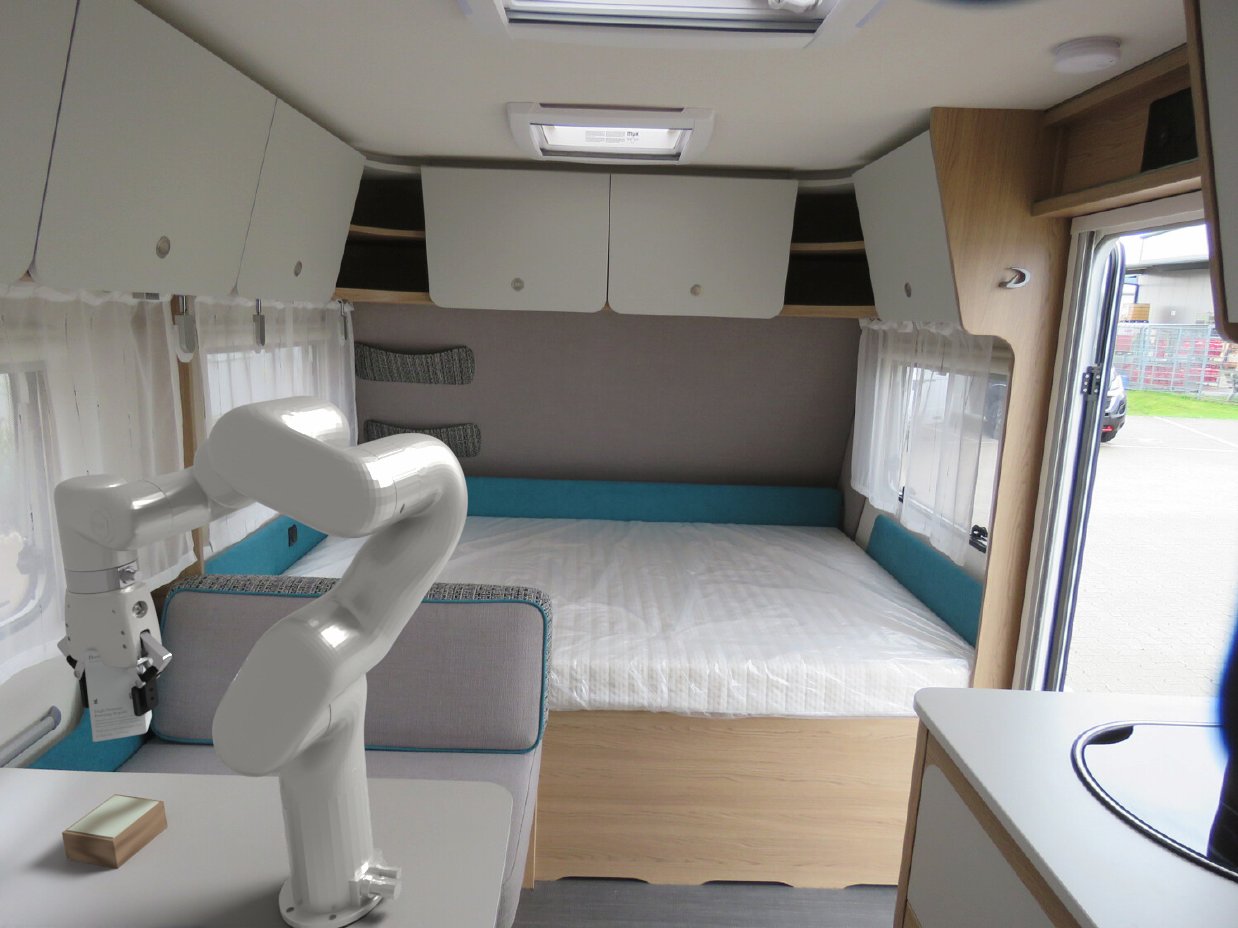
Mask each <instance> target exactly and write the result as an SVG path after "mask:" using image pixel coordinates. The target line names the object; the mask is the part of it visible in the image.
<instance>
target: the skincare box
mask: <svg viewBox="0 0 1238 928" xmlns="http://www.w3.org/2000/svg"><path fill="white" fill-rule="evenodd" d="M83 656H84V665H85V675H86V684H87V692H88V701H89V708H88V709H89V715H90V716H89V717H90V719H89V720H90V726H91V735H92V743H95V742H102V741H109V740H114V739H121V738H127V737H133V736H139V735H144V734H146V733H147V732H148V730H149V727H150V725H151V720H152V717H153V713H152V710H150V711H148V712H147V713H145V714H144V715H142V716H140V717H139V716H135V714H134V708H133V700H132V693H131V688H132V687H134V686H135V684H134V682H133V680H132V679H131V677H130V675H129V674H128V672H127V670H126V668H121V667H113V666H107V665H104V664H103V662H102V660H101V658H100V656H99V653H98V652H97V651H93V650H87V649H86V650H85V652H84V654H83ZM141 658H142V653H141V650H140V655H139V656H138V657H137V660H139V659H141ZM137 667H138V668H139V670H140V672H141V674H143V673H144V672H145V671H146V669H145V668H144V666H143V664H140V665H138V666H137Z"/></svg>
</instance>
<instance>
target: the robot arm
mask: <svg viewBox="0 0 1238 928" xmlns="http://www.w3.org/2000/svg"><path fill="white" fill-rule="evenodd" d="M350 441H351V429H350V424H349V422H348V419H347V417H346V416H345V414H344V413H343V411H342V409H340V408H338V407H337V405H335V404H334V403H332V402H331V401H328V400H327V399H324V398H322V397H319V396H312V395H297V396H296V395H295V396H289V397H288V396H287V397H283V398H275V399H271V400H265V401H257V402H252V403H248V404H242V405H239V406H237V407H234V408H231V409H230V410H229V411H227V412H225V413H224V414H223V415H222V416H221V417H220V418H218V420H217V421H216V422H215V424H214V425H213V426H212V428H211V430H210V433H209V435H208V438H207V439H205V440H203V441H202V442H201V443H200V445H198V447H197V449H196V451H195V453H194V455H193V456H194V457H193V465H191V466H188V467H186V468H183V469H181V470H178V471H173V472H167V473H165V474H160V475H157V476H153V477H148V478H145V479H141V480H137V481H132V482H128V481H127V480H126V479H125V478H123V477H122V476H119V475H115V474H103V473H102V474H89V475H88V474H87V475H80V476H75V477H71V478H68V479H65V480H63V481H61V482H59V483H58V484H57V485H56V487H55V488H54V490H53V502H54V509H55V515H56V521H57V522H56V523H57V529H58V536H59V543H60V549H61V555H62V563H63V564H62V565H63V570H64V577H65V578H64V579H65V584H66V588H65V595H64V626H65V628H64V629H65V636H63V638H62V639H61V640H59V642H57V644H56V645H57V648H58V650H59V651H60V652H61V653H62V655H63V656H64V657H65V658H66V659H65V660H66V662H67V664H68V665H70V667H71V669H73V676H74V678H76V679H78V682H79V684H78V685H79V690H80V697H81V702H82V703H81V704H82V708H84V709H89V701H88V692H87V684H86V675H85V665H84V656H83V654H84V652H85V650H86V649H87V650H93V651H97V652H98V653H99V656H100V658H101V660H102V662H103V664H104V665H107V666H113V667H121V668H126V670H127V672H128V674H129V675H130V677H131V679H132V680H133V682H134V684H135V686H134V687H132V688H131V693H132V700H133V708H134V714H135V716H139V717H140V716H142V715H144V714H145V713H147V712H148V711H150V710H151V711H152V710H154V709H155V708H156V707H158V705H159V704H160V701H159V693H158V684H157V683H158V682H157V679H158V678H159V677H160V676H161V674H162V673H163V672H164V671H165V670H166V667H167V665H168V664H169V663H170V662H171V660H172V658H173V656H172V653H171V652H170V651H168V650H167V648H165V646H163V643H162V635H161V630H160V624H159V619H158V616H157V615H158V614H157V612H156V611H157V610H156V607H155V603H154V600H153V597H152V594H151V592H150V589H149V587H148V585H147V583H146V582H143V581H142V579H143V577H144V573H143V571H142V570H141V569H140V562H139V556H138V555H139V554H138V549H141V548H143V547H146V546H147V547H148V546H149V545H152V544H155V543H158V542H161V541H163V540H165V539H168V538H172V537H174V536H177V535H181V534H183V533H186V532H190V531H193V530H196V529H198V528H201V527H205V526H207V525H209V524H211V523H213V522H215V521H217V520H220V519H222V518H224V517H226V516H229V515H232V514H233V513H236V512H238V511H240V510H242V509H245V508H248V507H250V506H252V504H255V503H258V504H260V505H262V506H264V507H267V508H269V509H271V510H273V511H275V512H277V513H280V514H282V515H284V516H285V517H288V518H291V519H292V520H295V521H296V522H298V523H301V524H302V525H305V526H307V527H309V528H310V529H313V530H315V531H318V532H320V533H323V534H325V535H328V536H332V537H334V538H335V537H336V538H341V539H360V538H364V537H368V536H369V537H368V538H367V539H365V542H364V543H362V545H361V546H360V548H359V549H358V550H357V552H356V554H355V555H354V557H353V559H352V560H351V562H350V564H349V566H348V567H347V568H346V570H345V572H344V573H343V574H342V576H341V577H340V579H339V580H338V581H337V582H336V584H335V585H334V586H333V587H331V589H329V590H328V591H327V592H326V593H323V594H322V595H321V596H319V597H317V598H316V599H314V600H312V601H310V602H309V603H308V604H305V605H304V606H302V607H300V608H299V609H295V611H293V612H291V613H289V614H288V615H286V616H284V617H283V618H281V619H280V620H278V621H276V622H275V623H274V624H273V625H272V626H271V627H270V628H268V630H266V631H265V632H264V633H263V634H262V635H261V636H260V638H259V639H258V640H257V641H256V642H255V644H254V645H253V647H252V649H250V652H249V653H248V655H247V656H246V659H245V660H244V662H243V663H242V665H241V666H240V668H239V670H238V672H237V673H236V675H235V676H234V678H233V679H232V681H231V683H230V684H229V686H228V688H227V690H226V691H225V693H224V694H223V696H222V698H221V699H220V702H219V703H218V705H217V708H216V710H215V713H214V717H213V720H212V726H211V727H212V728H211V735H212V742H213V748H214V750H215V752H216V755H217V757H218V759H219V760H220V762H221V763H222V764H223V766H225V768H227V769H228V770H230V771H231V772H233V773H235V774H237V775H239V776H243V777H248V778H261V777H267V776H271V775H273V774H275V773H278V783H279V784H278V785H279V794H280V803H281V809H282V810H281V812H282V818H283V826H284V827H283V828H284V835H285V844H286V851H287V859H288V860H287V861H288V868H289V870H288V871H289V877H288V878H287V879H286V880H285V882H284V883H283V885H282V887H281V889H280V892H279V894H278V895H279V896H278V907H279V912H280V913H279V914H280V915H281V917H282V919H283V921H284V922H285V923H286V924H287V925H289V926H291V927H292V928H342V927H345V926H347V925H349V924H351V923H353V922H355V921H358V920H359V919H360V918H362V917H364V916H365V915H367V914H369V912H370V911H372V910H373V909H374V908H375V907H376V906H377V904H378V903H380V902H381V900H382V899H383V898H385V899H389V900H390V899H391V900H397V899H399V897H400V895H401V892H402V888H403V886H402V885H403V883H402V881H401V880H399V879H400V878H401V877H402V874H403V873H402V872H403V868H402V867H401V866H395V865H388V862H387V861H386V860H385V858H384V857H383V851H382V848H380V847H374V840H373V830H372V820H371V819H372V817H371V807H370V799H369V787H368V779H367V777H368V776H367V763H366V762H367V761H366V751H365V717H366V710H367V709H366V707H367V696H368V682H367V673H368V672H369V671H370V670H371V669H373V668H374V667H375V666H376V665H378V664H379V663H380V662H381V661H382V660H383V659H385V657H386V656H387V654H388V652H389V651H390V650H391V649H392V647H393V645H394V643H395V642H396V640H397V638H398V637H399V636H400V634H401V632H402V631H403V630H404V628H405V626H406V625H407V624H408V622H409V621H410V619H411V618H412V616H413V615H414V613H415V612H416V611H417V609H418V607H420V605H421V603H422V601H423V599H424V598H425V596H426V595H427V594H428V591H429V590H430V589H431V587H432V586H433V584H434V583H435V581H437V578H438V577H439V576H440V574H441V573H442V571H443V569H444V568H445V567H446V565H447V564H448V562H449V560H450V559H451V557H452V555H453V553H454V551H455V549H456V548H457V546H458V543H459V541H460V539H461V536H462V533H463V531H464V529H465V524H466V521H467V514H468V508H469V507H468V504H469V501H468V499H469V498H468V487H467V482H466V478H465V474H464V471H463V468H462V466H461V464H460V462H459V460H458V458H457V456H456V455H455V454H454V451H452V449H451V448H450V447H449V445H447V444H445V442H443V441H442V440H440V439H439V438H437V437H434V436H432V435H430V434H426V433H425V434H424V433H419V432H410V433H409V432H408V433H407V432H406V433H397V434H393V435H388V436H385V437H381V438H378V439H374V440H371V441H368V442H364V443H360V444H357V445H353V446H349V443H350ZM140 650H141V653H142V658H141V659H139V660H137V657H138V656H139V655H140ZM140 664H143V666H144V668H145V669H146V671H145V672H144V673H143V674H141V672H140V670H139V668H138V667H137V666H138V665H140Z"/></svg>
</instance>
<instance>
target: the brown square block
mask: <svg viewBox="0 0 1238 928" xmlns="http://www.w3.org/2000/svg"><path fill="white" fill-rule="evenodd" d="M166 815H167V814H166V809H165V802H164V800H159V799H158V800H157V799H152V798H145V797H144V798H143V797H137V796H130V795H123V794H116V793H115V794H113V795H112V796H110V797H109V798H108V799H106V800H105V801H104V802H102V803H100V805H98V806H97V807H95V808H94V809H92V810H91V811H89V812H88V813H87V814H86V815H84V816H83V817H82V818H80V819H79V820H78V821H76V822H75V823H73V824H72V825H71V826H69V827H67V828H66V829H64V831H62V832H61V835H62V839H63V845H64V851H65V855H66V860H69V861H75V862H78V863H79V862H80V863H86V864H91V865H97V866H101V867H108V868H114V869H119V868H120V867H121V866H123V865H124V864H125V863H126V862H127V861H128V860H130V859H131V858H132V857H133V856H134V855H136V854H137V853H139V851H140V850H142V849H143V848H144V847H145V846H146V845H147V844H149V843H150V842H151V841H153V840H154V839H155V838H156V837H157V836H158V835H160V834H161V833H162V832H163V831H164V830H166V829H167V828H168V822H167V816H166Z"/></svg>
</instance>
